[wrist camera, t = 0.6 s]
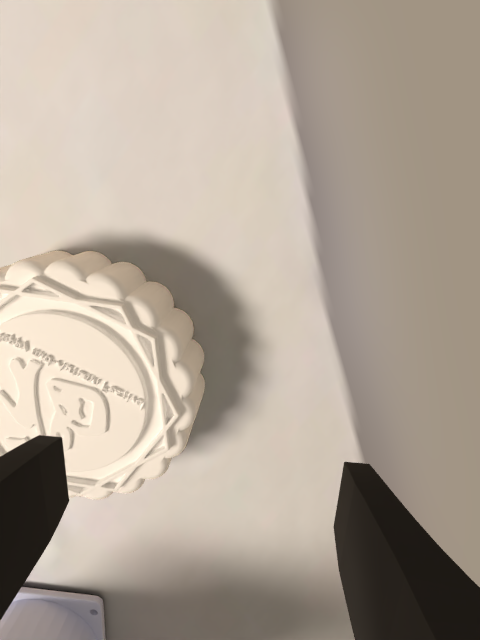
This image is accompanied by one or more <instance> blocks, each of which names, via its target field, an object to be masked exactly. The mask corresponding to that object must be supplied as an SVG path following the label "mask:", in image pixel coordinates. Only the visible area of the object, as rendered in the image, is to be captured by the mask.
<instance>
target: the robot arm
mask: <svg viewBox="0 0 480 640" xmlns="http://www.w3.org/2000/svg"><path fill="white" fill-rule="evenodd" d="M68 502H69V495H68V486H67V477H66V468H65V459H64V450H63V441H62V437H55V436H44V435H38V436H36V437H34V438H32V439H30V440H29V441H27V442H25V443H23V444H21V445H19V446H18V447H16V448H14V449H12V450H11V451H9V452H7V453H5V454H4V455H2V456H0V640H106V638H105V623H104V607H103V600H102V599H101V598H100V597H99V596H95V595H87V594H79V593H70V592H62V591H53V590H45V589H36V588H28V587H22V585H23V584H24V582H25V581H26V579H27V578H28V576H29V574H30V573H31V571H32V570H33V568H34V566H35V565H36V563H37V562H38V560H39V558H40V557H41V555H42V553H43V552H44V550H45V549H46V547H47V545H48V544H49V542H50V540H51V538H52V536H53V534H54V532H55V530H56V528H57V526H58V524H59V522H60V520H61V518H62V515H63V513H64V511H65V509H66V507H67V505H68ZM334 533H335V542H336V550H337V558H338V566H339V572H340V577H341V581H342V585H343V590H344V594H345V599H346V603H347V607H348V612H349V616H350V620H351V625H352V629H353V633H354V637H355V640H480V587H478V586H477V585H476V584H475V583H474V582H473V581H472V580H471V579H470V578H469V577H468V576H467V575H466V574H465V573H464V571H463V570H462V569H461V568H460V567H459V566H458V565H457V564H456V563H455V562H454V561H453V560H452V559H451V558H450V557H449V556H448V555H447V554H446V553H445V552H444V551H443V550H442V549H441V548H440V547H439V545H437V543H436V542H435V541H434V540H433V539H432V538H431V537H430V535H429V534H428V533H427V532H426V531H425V530H424V529H423V528H422V527H421V526H420V524H419V523H418V522H417V521H416V520H415V518H414V517H413V516H412V515H411V514H410V513H409V511H408V510H407V509H406V508H405V507H404V505H403V504H402V503H401V502H400V501H399V500H398V498H397V497H396V496H395V495H394V493H393V492H392V491H391V490H390V489H389V487H388V486H387V485H386V484H385V482H384V481H383V480H382V479H381V478H380V476H379V475H378V474H377V473H376V472H375V470H374V469H373V468H372V467H371V466H370V464H363V463H351V462H344V467H343V473H342V479H341V485H340V492H339V498H338V504H337V510H336V516H335V522H334Z"/></svg>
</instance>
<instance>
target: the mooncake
mask: <svg viewBox="0 0 480 640" xmlns="http://www.w3.org/2000/svg"><path fill="white" fill-rule="evenodd" d="M193 332H194V326H193V322H192V320H191V318H190V317H189V315H188V314H187V313H185V312H184V311H182V310H181V309H178V308H174V300H173V297H172V294H171V293H170V291H169V290H168V289H167V288H166V287H165V286H164V285H162V284H160V283H157V282H153V281H148V282H147V281H146V278H145V276H144V274H143V272H142V271H141V270H140V269H139V268H138V267H137V266H135V265H134V264H131V263H128V262H117V263H114V264H112V263H111V261H110V260H109V259H108V258H107V257H106V256H104V255H103V254H101V253H99V252H95V251H85V252H82V253H79V254H76V255H71V254H69V253H67V252H64V251H52V252H48V253H44V254H41V255H37V256H34V257H30V258H26V259H23V260H19V261H17V262H15V263H14V264H12V265H8V266H5V267H1V268H0V456H2V455H4V454H5V453H7V452H9V451H11V450H12V449H14V448H16V447H18V446H19V445H21V444H23V443H25V442H27V441H29V440H30V439H32V438H34V437H36V436H38V435H44V436H55V437H62V441H63V450H64V459H65V468H66V477H67V486H68V495H69V498H71V497H74V496H76V495H77V496H79V497H81V496H84V497H86V498H89V499H93V500H100V499H104V498H106V497H108V496H110V495H111V494H112V493H113V491H114V492H118V493H131V492H134V491H136V490H138V489H139V488H140V487H141V486H142V484H143V483H144V481H145V479H155V478H158V477H160V476H162V475H163V474H164V473H165V472H166V471H167V469H168V467H169V464H170V462H171V459H172V457H175V456H177V455H179V454H180V453H181V452H182V451H183V450H184V449H185V447H186V445H187V442H188V439H189V436H190V433H191V430H192V427H193V424H194V421H195V418H196V416H197V412H198V409H199V406H200V403H201V400H202V397H203V394H204V390H205V381H204V378H203V376H202V374H201V373H200V371H201V369H202V366H203V363H204V352H203V349H202V347H201V346H200V344H199V343H198V342H197V341H195V340H194V339H192V336H193Z"/></svg>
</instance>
